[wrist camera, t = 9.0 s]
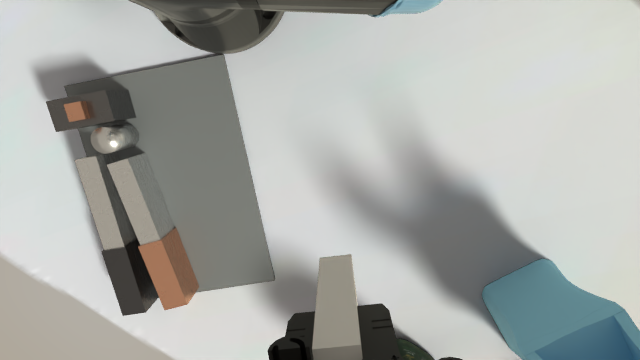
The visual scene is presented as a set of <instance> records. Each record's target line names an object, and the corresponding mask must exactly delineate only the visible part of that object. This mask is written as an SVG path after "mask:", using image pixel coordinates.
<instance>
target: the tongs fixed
mask: <svg viewBox="0 0 640 360" xmlns="http://www.w3.org/2000/svg"><path fill="white" fill-rule="evenodd" d="M46 103H47V106H48V109H49V112H50V115H51V118H52V121H53V124H54V127H55V130H56V132H59V131H65V130H72V129H79V128H85V127H91V126H96V125H101V124H107V123H112V122H117V121H122V120H128V119H133V118H136V114H135V111H134V107H133V104H132V100H131V97H130V93H129V90H103V91H98V92H93V93H88V94H83V95H77V96H72V97H67V98H62V99H57V100H52V101H47V102H46ZM117 161H119V158H118V155H117V152H116V151H115V152H112V153H108V154H103V153H101V154H96V155H92V156H88V157H84V158H81V159H77V160H75V163H76V166H77V169H78V172H79V175H80V178H81V181H82V184H83V187H84V191H85V194H86V197H87V200H88V203H89V206H90V209H91V212H92V215H93V218H94V221H95V224H96V227H97V230H98V233H99V236H100V239H101V242H102V245H103V248H104V250H103V251H102V254H103V257H104V260H105V263H106V266H107V269H108V272H109V275H110V278H111V281H112V284H113V287H114V290H115V293H116V296H117V300H118V303H119V306H120V309H121V312H122V315H123V316H124V315H131V314H138V313H144V312H146V311H147V310H148V309H149V308H150V307H151V306H152V304H153V303H154V302H155V301H156V300H157V298H158V297H159V296H158V293H157V291H156V288H155V286H154V284H153V281H152V279H151V276H150V274H149V272H148V269H147V267H146V265H145V262H144V260H143V257H142V255H141V253H140V250H139V248H138V246H139V245H140V243H139V241H138V238H137V236H136V234H135V231H134V229H133V226H132V224H131V222H130V219H129V217H128V215H127V212H126V210H125V207H124V205H123V203H122V200H121V198H120V195H119V193H118V191H117V188H116V186H115V183H114V181H113V179H112V176H111V174H110V171H109V169H108V167H107V164H111V163H114V162H117Z"/></svg>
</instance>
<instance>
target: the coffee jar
mask: <svg viewBox="0 0 640 360" xmlns="http://www.w3.org/2000/svg"><path fill="white" fill-rule="evenodd" d="M396 340H397V344H398V348H399V352H400V355H401V357H402V358H403V359H404V360H434V359H433V358H432V357H431V356H430V355H429V354H427V353H426V352H425V351H423V350H422V349H420V348H419V347H417V346H416V345H414V344H412V343H410V342H408V341H406V340H403V339H396Z"/></svg>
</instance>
